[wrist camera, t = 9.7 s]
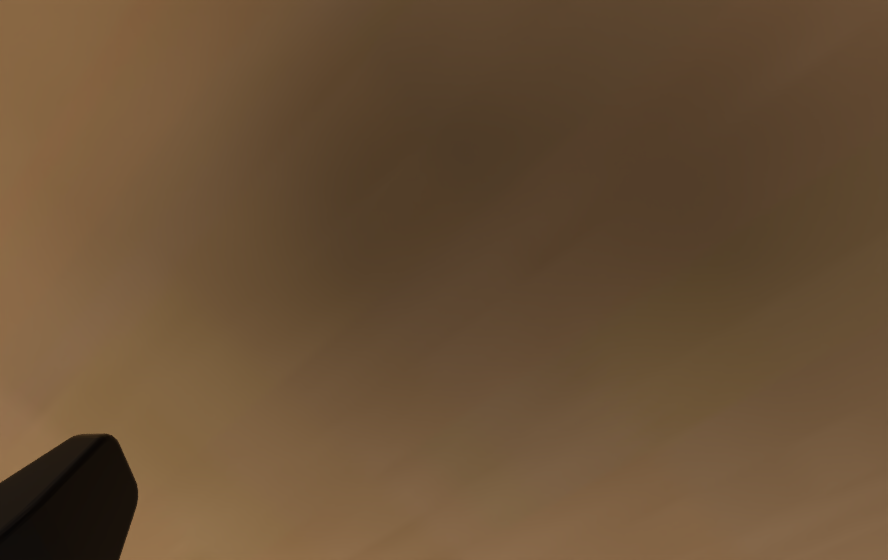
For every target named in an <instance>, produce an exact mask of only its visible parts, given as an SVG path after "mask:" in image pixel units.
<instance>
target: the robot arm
mask: <svg viewBox="0 0 888 560" xmlns="http://www.w3.org/2000/svg"><path fill="white" fill-rule="evenodd" d="M137 501H138V488H137V483H136V481H135V478H134V476H133V474H132V472H131V469H130V467H129V465H128V462H127V460H126V458H125V456H124V453H123V451H122V449H121V447H120V444H119V442H118V441H117V439H115V438H114V437H113V436H112V435H109V434H81V435H76V436H73V437H71V438H69V439H68V440H66V441H65V442H63V443H62V444H60V445H58V446H57V447H55V448H54V449H52V450H51V451H49V452H48V453H46V454H44V455H43V456H41V457H40V458H38V459H37V460H35V461H34V462H32V463H30V464H29V465H27V466H26V467H24V468H23V469H21V470H20V471H18V472H16V473H15V474H13V475H12V476H10V477H9V478H7V479H6V480H4V481H2V482H1V483H0V560H119V559H120V555H121V552H122V549H123V546H124V543H125V540H126V537H127V534H128V531H129V528H130V525H131V522H132V519H133V516H134V512H135V509H136V506H137Z"/></svg>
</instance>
